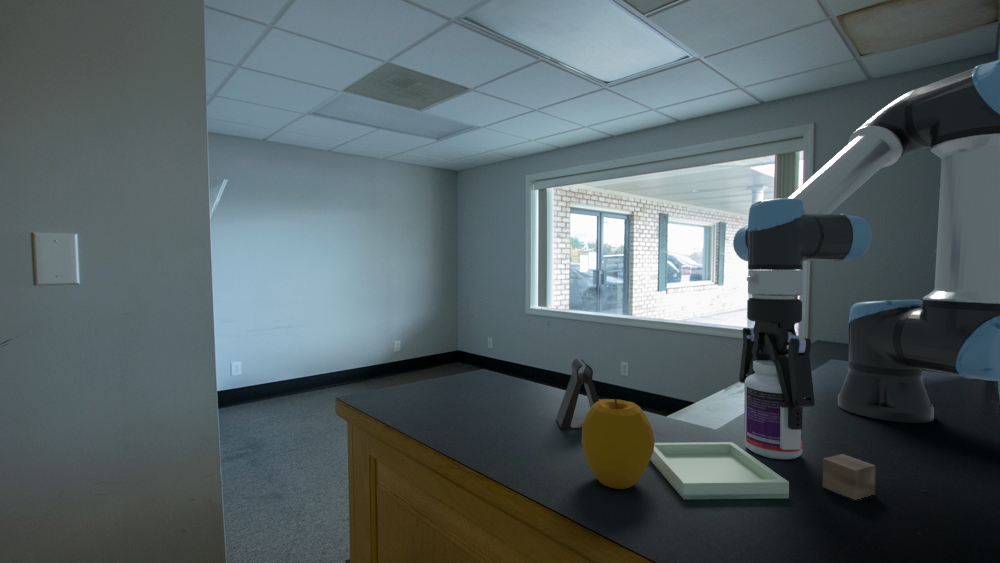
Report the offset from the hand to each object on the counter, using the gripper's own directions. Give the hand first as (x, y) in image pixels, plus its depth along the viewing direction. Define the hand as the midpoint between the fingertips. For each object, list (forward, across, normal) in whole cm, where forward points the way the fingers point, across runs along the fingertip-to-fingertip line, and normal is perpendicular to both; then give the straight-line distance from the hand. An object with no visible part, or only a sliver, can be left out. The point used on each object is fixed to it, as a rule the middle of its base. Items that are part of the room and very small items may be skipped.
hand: (772, 437), depth 73 cm
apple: (+2, +10, -28) cm, 30 cm away
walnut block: (+2, +13, +2) cm, 13 cm away
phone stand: (+3, -14, -28) cm, 31 cm away
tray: (+2, +8, -14) cm, 16 cm away
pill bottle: (+2, 0, 0) cm, 2 cm away
